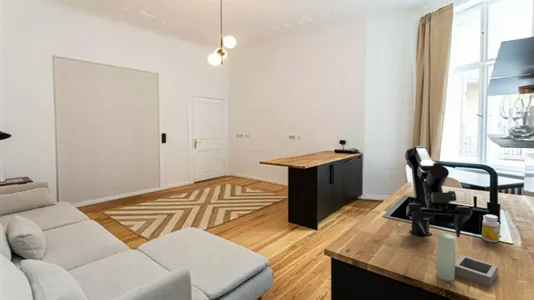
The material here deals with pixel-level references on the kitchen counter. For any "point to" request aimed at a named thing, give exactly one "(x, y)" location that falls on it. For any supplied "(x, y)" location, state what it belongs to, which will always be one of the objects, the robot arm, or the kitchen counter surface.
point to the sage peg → (446, 257)
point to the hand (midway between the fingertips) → (442, 235)
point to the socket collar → (475, 275)
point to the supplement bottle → (490, 228)
